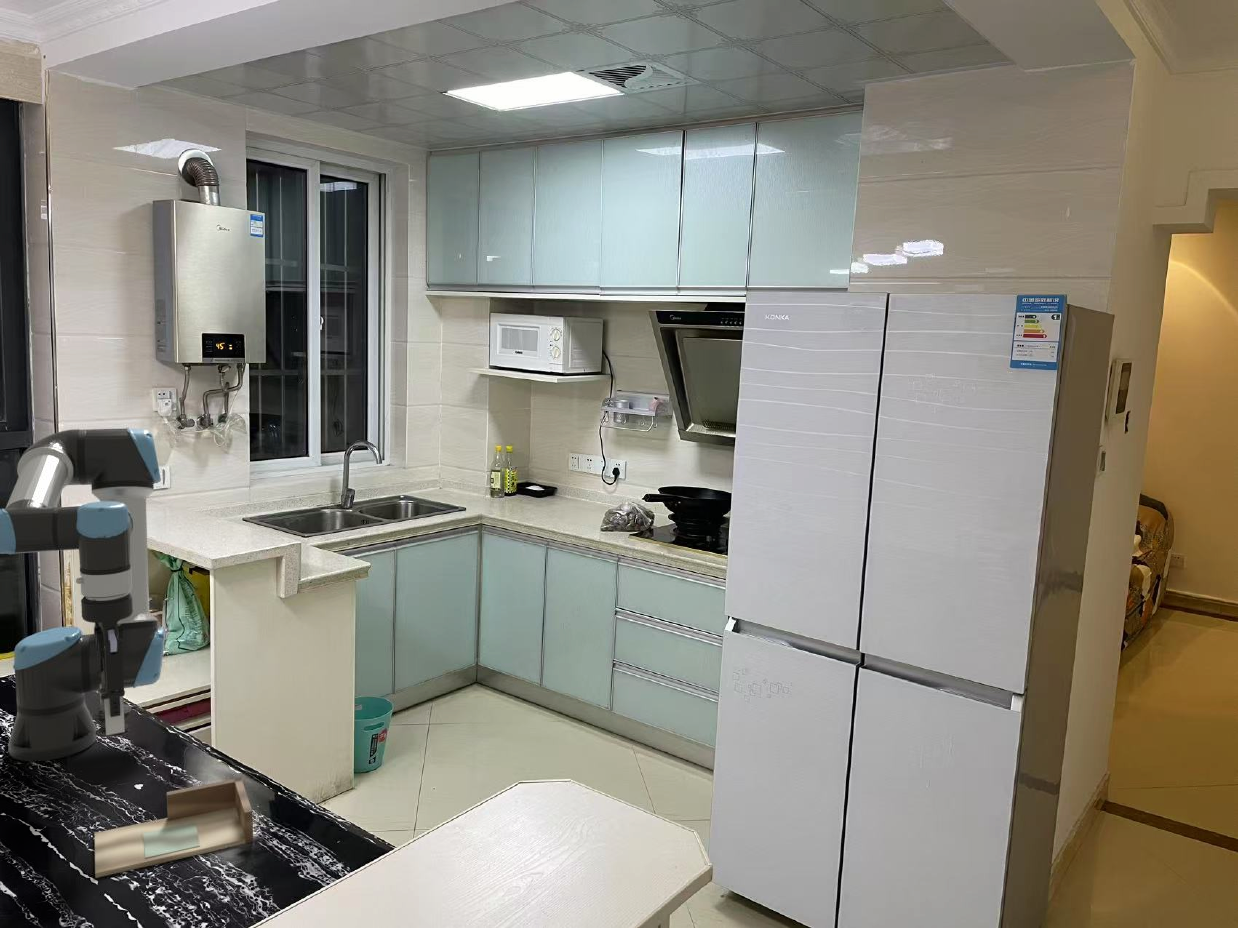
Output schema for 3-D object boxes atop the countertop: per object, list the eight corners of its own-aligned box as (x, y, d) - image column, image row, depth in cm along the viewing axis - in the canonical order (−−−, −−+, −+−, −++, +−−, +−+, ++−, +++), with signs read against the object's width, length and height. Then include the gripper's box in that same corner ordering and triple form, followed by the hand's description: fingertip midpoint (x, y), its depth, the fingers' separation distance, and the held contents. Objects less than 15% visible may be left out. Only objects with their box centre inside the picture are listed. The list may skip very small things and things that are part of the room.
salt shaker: (117, 739, 155) (114, 670, 153) (85, 736, 156) (81, 668, 154) (139, 724, 161) (136, 658, 159) (108, 722, 161) (105, 656, 160)
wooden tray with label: (94, 837, 154) (93, 806, 154) (241, 806, 166) (241, 777, 165) (95, 877, 143) (93, 845, 143) (253, 841, 155) (252, 811, 154)
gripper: (75, 584, 160) (82, 711, 164) (86, 612, 145) (93, 751, 148) (124, 578, 165) (129, 702, 168) (140, 605, 149) (145, 741, 153)
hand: (112, 725), depth 158 cm, fingers closed on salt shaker, 6 cm apart
